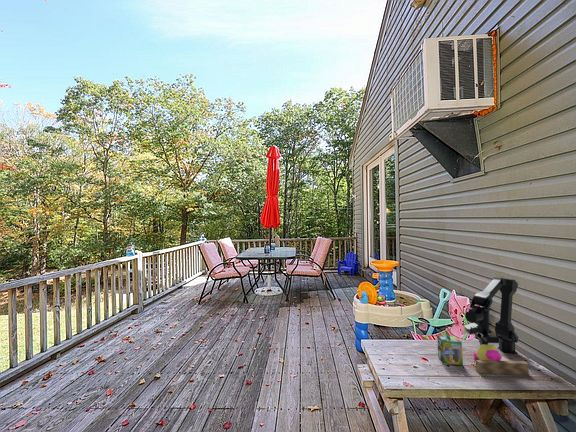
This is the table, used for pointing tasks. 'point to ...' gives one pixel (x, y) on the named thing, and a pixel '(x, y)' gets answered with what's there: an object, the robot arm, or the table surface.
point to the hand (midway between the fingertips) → (483, 349)
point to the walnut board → (502, 367)
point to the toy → (487, 353)
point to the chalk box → (449, 349)
